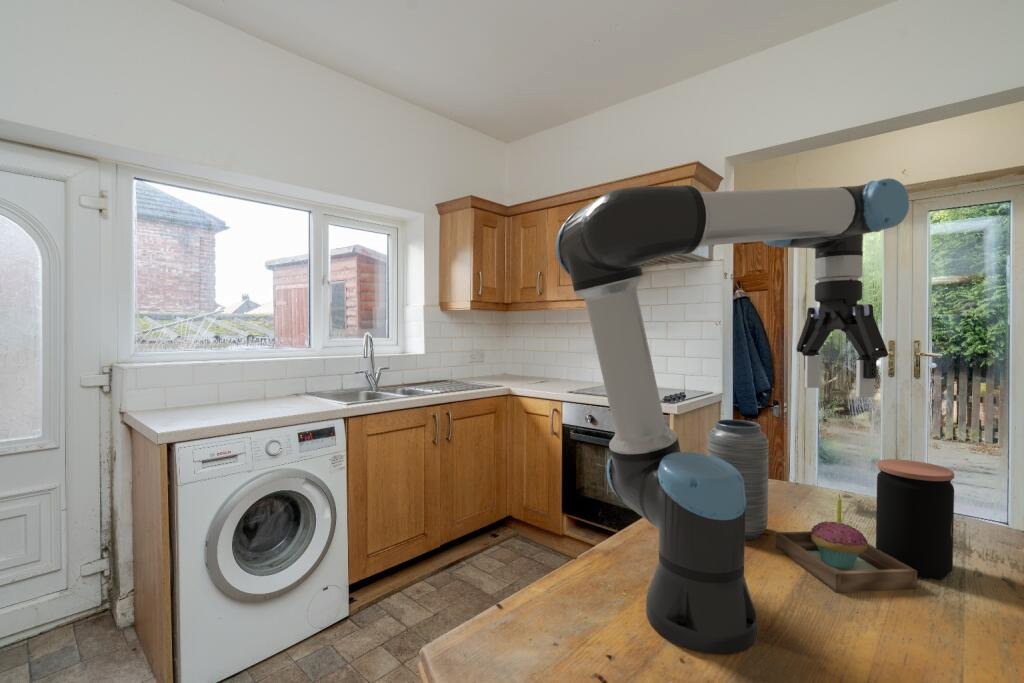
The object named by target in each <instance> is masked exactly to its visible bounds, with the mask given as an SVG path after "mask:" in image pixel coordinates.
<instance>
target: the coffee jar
mask: <svg viewBox="0 0 1024 683" xmlns="http://www.w3.org/2000/svg"><path fill="white" fill-rule="evenodd" d="M876 466H877V469H878V470H879V472H878V473H877V475H876V476H877V477H876V511H875V512H876V513H875V514H876V518H875V519H876V520H875V521H876V523H875V548H877V549H878V550H880V551H882V552H884V553H886V554H887V555H889V556H891V557H893V558H895V559H896V560H898V561H900V562H902V563H904V564H905V565H907V566H909V567H911V568H913V569H914V570H916V571H917V579H918V578H919V579H925V580H941V579H945V578H946V577H948V576H949V575H950V574H951V573H952V572H953V568H954V567H953V565H954V564H953V563H954V524H955V522H954V521H955V518H954V516H955V511H954V510H955V487H954V485H953V484H952V481H953V480H954V479H955V473H954V471H953V470H951V469H949V468H947V467H944V466H942V465H938V464H932V463H928V462H925V461H924V462H923V461H917V460H911V459H910V460H908V459H897V458H896V459H890V458H889V459H880V460H878V461H877V465H876Z"/></svg>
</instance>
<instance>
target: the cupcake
mask: <svg viewBox="0 0 1024 683" xmlns="http://www.w3.org/2000/svg"><path fill="white" fill-rule="evenodd" d="M810 531H811V539H812V541H813V542H814V543H815V544H816V546H817V547H818V549H819V552H820V555H821V558H822V561H823V562H824V563H826V564H828V565H830V566H832V567H836V568H840V569H850V568H853V566H854V564H855V561H856V559H857V557H858V555H859V553H863V552H864V551H866V550H867V549H868V545H867V543H868V539H867V538H866V537H865V536H864V533H862V532H860V530H858V529H856V528H855V527H853V526H852V525H849V524H845V523H843V522H842V498H841V494H839V493H838V498H836V521H826V520H825V521H824V522H823V521H821V522H820V523H819V522H818V523H817V524H816V525H813V527H811V530H810ZM868 544H869V543H868Z"/></svg>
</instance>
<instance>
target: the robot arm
mask: <svg viewBox="0 0 1024 683" xmlns="http://www.w3.org/2000/svg"><path fill="white" fill-rule="evenodd" d="M909 198H910V196H909V193H908V191H907V189H906V187H905V186H904V185H903V183H902V182H900V181H899V180H896V179H895V178H890V177H889V178H883V179H878V180H871V181H868V182H867V183H865V184H864V183H863V184H861V185H853V186H852V185H851V186H839V187H837V186H836V187H833V186H832V187H807V188H806V187H805V188H781V189H777V188H776V189H756V190H754V189H753V190H752V189H751V190H750V189H749V190H730V191H729V190H726V191H723V190H722V191H703V192H702V191H701V190H700V189H699V188H698V187H696V186H695V185H689V184H688V185H687V184H686V185H654V186H653V185H651V186H649V185H648V186H646V185H645V186H630V187H624V188H618V189H614V190H610V191H608V192H607V193H604V194H602V195H601V196H600V197H598V198H597V199H595V200H593V201H591V202H590V203H589V204H587V205H585V206H584V207H582V208H579V209H578V210H576V211H575V212H573V213H572V214H571V215H570V216H569V217H568V218H567V219H566V221H564V222H563V224H562V226H561V227H560V229H559V231H558V234H557V236H556V241H555V253H556V254H555V255H556V257H557V258H556V259H557V261H558V263H559V265H560V266H561V268H562V269H563V271H564V272H566V274H568V275H569V276H570V279H571V284H572V289H573V292H574V294H575V295H577V296H578V297H580V298H581V299H583V300H584V302H585V305H586V309H587V314H588V317H589V321H590V327H591V330H592V331H591V332H592V336H593V340H594V344H595V348H596V353H597V358H598V363H599V366H600V371H601V375H602V380H603V384H604V388H605V393H606V397H607V403H608V406H609V411H610V415H611V419H612V425H613V429H614V435H613V437H612V438H611V440H610V441H609V442H608V445H609V446H608V447H609V448H608V449H609V452H610V457H609V459H607V463H606V480H607V482H608V485H609V487H610V488H611V490H612V492H613V493H614V495H615V496H616V497H617V499H619V500H620V502H622V503H623V504H624V506H626V507H627V508H629V509H631V510H633V511H634V512H636V513H637V514H638V515H639V516H641V518H644V519H645V520H646V521H648V522H649V523H650V524H652V525H653V526H654V527H656V529H658V564H657V566H656V568H655V570H654V571H655V572H654V574H653V576H652V580H651V581H650V582H651V583H650V586H649V587H648V590H647V594H646V598H645V599H646V606H645V608H646V609H645V610H646V612H645V613H646V617H647V620H648V622H649V624H650V625H651V626H652V628H653V629H655V631H656V632H657V633H659V634H660V635H661V636H663V637H664V638H665V639H667V640H668V641H670V642H672V643H673V644H676V645H678V646H680V647H683V648H686V649H687V650H692V651H695V652H700V653H703V654H711V655H733V654H737V653H741V652H744V651H747V650H749V649H750V648H752V646H754V645H755V644H756V642H757V639H758V622H759V621H758V614H757V612H756V609H755V606H754V602H753V599H752V597H751V593H750V590H749V588H748V585H747V581H746V579H745V548H746V547H745V546H746V540H745V513H746V497H745V489H744V480H743V478H742V476H741V474H740V472H739V471H738V470H737V469H736V468H735V467H734V466H732V465H731V464H729V463H727V462H725V461H723V460H721V459H719V458H716V457H713V456H708V455H705V454H704V453H700V452H693V451H692V452H690V451H689V452H688V451H681V447H680V442H679V437H678V434H677V432H676V431H675V430H674V429H671V428H670V427H668V426H667V425H666V421H665V418H664V417H665V416H664V413H663V408H662V404H661V399H660V395H659V390H658V389H659V388H658V384H657V379H656V376H655V371H654V366H653V361H652V357H651V352H650V347H649V342H648V338H647V333H646V329H645V324H644V319H643V315H642V310H641V305H640V299H639V296H638V292H637V289H638V286H639V284H640V283H641V281H642V280H643V278H644V272H643V268H642V264H646V263H649V262H652V261H656V260H659V259H662V258H666V257H670V256H671V257H672V256H677V255H678V256H679V255H689V254H692V253H694V252H695V251H697V250H698V248H700V247H704V246H706V247H707V246H718V245H719V246H720V245H730V244H742V243H743V244H744V243H757V242H763V243H764V244H765V245H767V246H769V247H776V248H780V249H785V248H787V249H788V248H795V249H812V250H813V249H814V251H815V252H814V253H815V254H814V258H815V260H814V279H815V281H818V282H816V283H815V284H814V301H815V302H817V303H819V307H808V308H807V312H806V320H805V322H804V326H803V328H802V331H801V334H800V337H799V339H798V342H797V346H796V352H797V353H801V354H802V356H803V358H804V360H803V363H804V364H803V370H804V388H806V389H819V388H820V387H821V384H820V383H821V382H820V381H821V354H820V352H819V351H820V350H821V348H822V346H824V343H825V342H826V340H827V339H828V337H829V336H830V334H831V333H832V332H834V331H835V330H840V331H841V332H844V334H845V335H846V337H847V338H848V341H850V343H851V345H852V347H853V348H854V350H855V351H856V353H857V354H858V358H857V359H856V364H855V365H856V373H855V376H856V378H855V381H856V382H855V387H856V388H855V397H856V398H874V397H875V391H874V390H875V379H876V377H877V361H878V360H880V359H882V358H886V357H888V356H889V352H888V349H887V347H886V345H885V342H884V339H883V337H882V334H881V331H880V329H879V326H878V324H877V321H876V319H875V316H874V314H875V313H874V307H873V305H872V304H870V303H869V304H868V303H867V304H866V303H865V304H863V303H862V304H861V303H860V304H858V302H859V301H862V299H863V289H864V288H863V282H862V280H859V279H861V278H862V277H863V268H864V266H863V265H864V264H863V256H864V254H863V253H864V251H863V243H864V235H865V234H870V233H879V232H881V231H883V230H887V229H891V228H895V227H897V226H898V225H900V224H901V223H902V222H904V220H905V218H906V217H907V215H908V213H909V210H910V202H909Z"/></svg>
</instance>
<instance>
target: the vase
mask: <svg viewBox="0 0 1024 683" xmlns="http://www.w3.org/2000/svg"><path fill="white" fill-rule="evenodd" d="M714 423H715V424H714V427H713V428H712V429H711V430H710V431H709V432H708V434H707V456H713V457H716V458H719V459H721V460H723V461H725V462H727V463H729V464H731V465H732V466H734V467H735V468H736V469H737V470H738V471H739V472H740V474H741V476H742V478H743V480H744V489H745V497H746V513H745V541H747V540H754V539H757V538H759V537H760V534H762V533H763V532H765V530H766V529H767V526H768V524H769V523H768V522H769V521H768V520H769V519H768V518H769V450H770V449H769V448H770V447H769V444H770V443H769V438H768V436H767V435H766V434H765V432H763V431H762V427H761V424H759V423H758V422H753V421H750V420H742V419H718V420H716V421H715V422H714Z"/></svg>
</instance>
